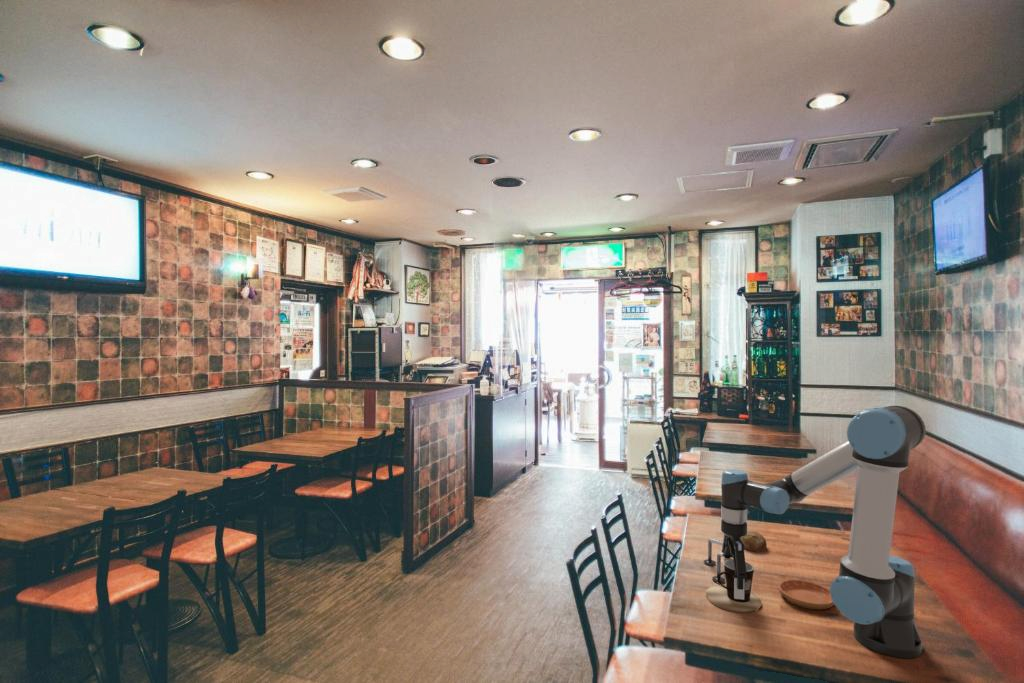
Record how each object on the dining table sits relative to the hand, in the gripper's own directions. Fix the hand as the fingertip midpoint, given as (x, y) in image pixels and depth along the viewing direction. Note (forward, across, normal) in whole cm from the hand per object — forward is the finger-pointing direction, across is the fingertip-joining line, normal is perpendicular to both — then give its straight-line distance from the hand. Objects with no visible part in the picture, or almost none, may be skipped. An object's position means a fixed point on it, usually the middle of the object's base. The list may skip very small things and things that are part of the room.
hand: (733, 588), depth 168 cm
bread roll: (+4, +46, -19) cm, 50 cm away
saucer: (+4, +4, -23) cm, 24 cm away
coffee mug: (+3, 0, 0) cm, 3 cm away
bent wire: (+4, +20, -2) cm, 20 cm away
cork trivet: (+4, 0, 0) cm, 4 cm away
